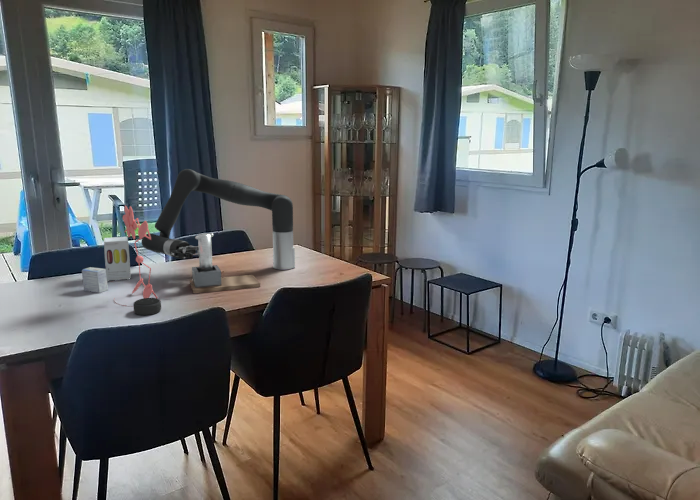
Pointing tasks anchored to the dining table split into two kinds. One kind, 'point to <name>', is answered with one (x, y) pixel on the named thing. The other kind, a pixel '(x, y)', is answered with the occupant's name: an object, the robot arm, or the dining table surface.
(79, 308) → the dining table surface
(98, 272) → the white paper stack
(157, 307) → the smart speaker
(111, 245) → the supplement box
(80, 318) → the dining table surface
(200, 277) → the box
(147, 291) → the figurine
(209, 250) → the silver flared cylinder
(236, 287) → the stand board
